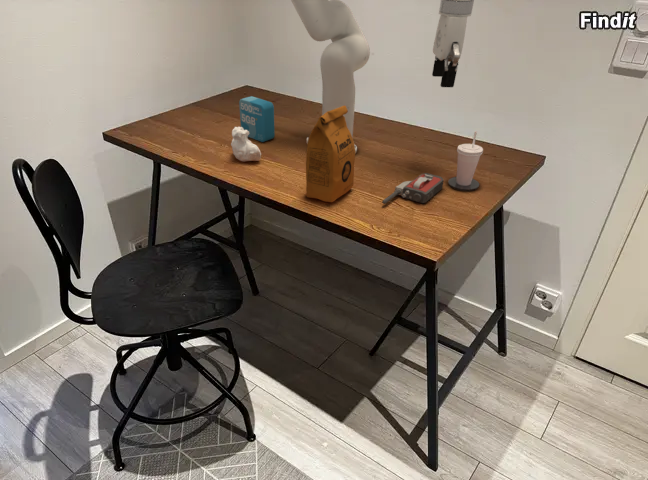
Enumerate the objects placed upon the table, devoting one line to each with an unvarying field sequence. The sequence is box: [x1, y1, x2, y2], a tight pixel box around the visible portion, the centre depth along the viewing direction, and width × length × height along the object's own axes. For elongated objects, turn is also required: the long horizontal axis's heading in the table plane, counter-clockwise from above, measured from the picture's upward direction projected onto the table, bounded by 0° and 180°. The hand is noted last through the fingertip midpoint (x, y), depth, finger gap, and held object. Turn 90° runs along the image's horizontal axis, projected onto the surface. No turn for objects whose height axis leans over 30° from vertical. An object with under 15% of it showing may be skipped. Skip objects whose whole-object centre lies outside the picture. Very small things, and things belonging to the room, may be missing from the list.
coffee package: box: [305, 106, 356, 203], centre depth 129 cm, size 10×12×22 cm
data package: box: [238, 95, 276, 143], centre depth 167 cm, size 12×4×12 cm, turn 44°
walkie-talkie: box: [381, 172, 445, 205], centre depth 132 cm, size 9×4×20 cm
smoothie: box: [456, 130, 484, 186], centre depth 134 cm, size 6×6×14 cm
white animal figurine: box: [230, 126, 262, 163], centre depth 152 cm, size 12×8×11 cm
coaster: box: [447, 176, 480, 192], centre depth 138 cm, size 8×8×1 cm
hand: (442, 81), depth 133 cm, fingers open, 9 cm apart
